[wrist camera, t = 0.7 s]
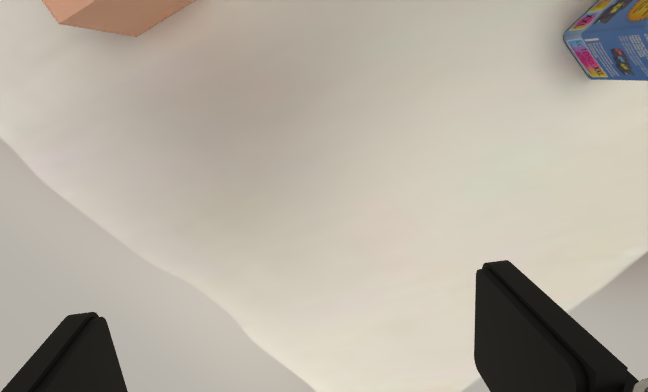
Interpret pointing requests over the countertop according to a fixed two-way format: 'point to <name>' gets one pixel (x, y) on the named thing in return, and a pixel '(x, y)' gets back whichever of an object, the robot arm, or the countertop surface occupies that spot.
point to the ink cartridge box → (612, 40)
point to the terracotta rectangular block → (114, 13)
